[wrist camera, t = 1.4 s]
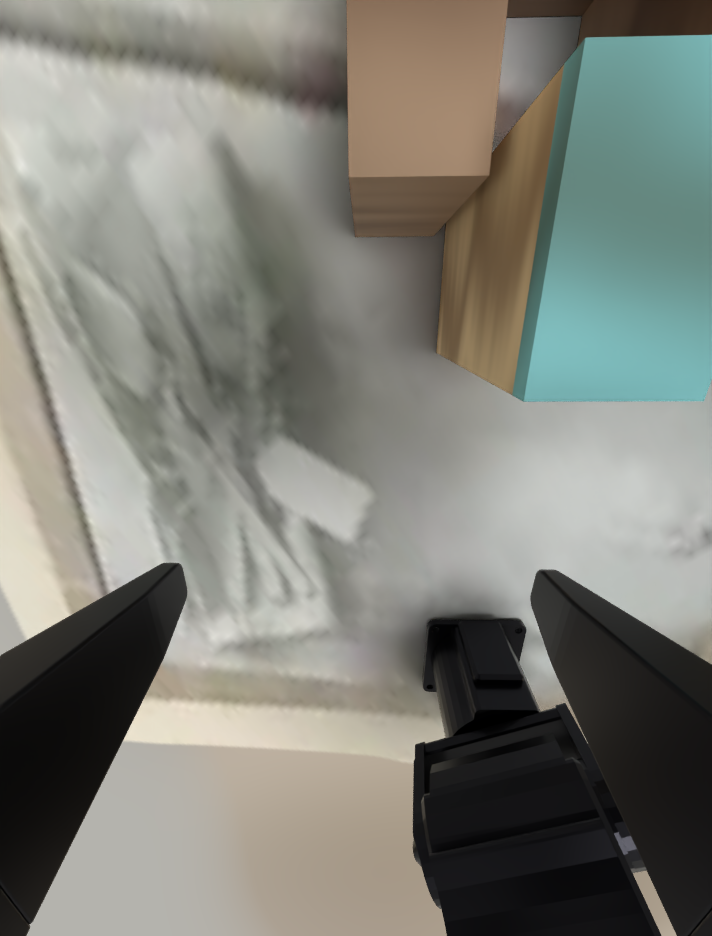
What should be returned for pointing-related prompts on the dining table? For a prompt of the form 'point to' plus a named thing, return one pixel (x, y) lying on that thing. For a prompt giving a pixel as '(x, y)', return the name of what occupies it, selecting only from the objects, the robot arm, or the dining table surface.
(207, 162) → the dining table surface
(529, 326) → the block
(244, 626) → the dining table surface
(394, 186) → the socket block
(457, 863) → the robot arm
